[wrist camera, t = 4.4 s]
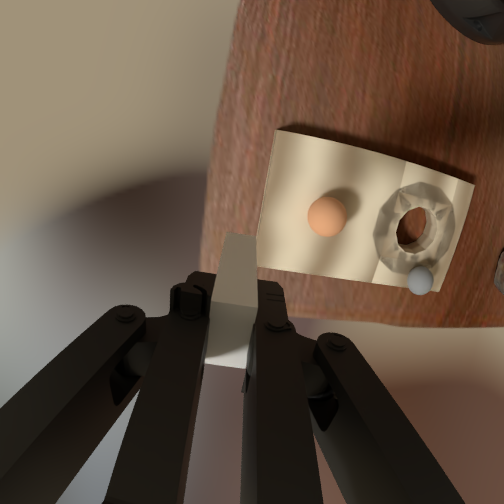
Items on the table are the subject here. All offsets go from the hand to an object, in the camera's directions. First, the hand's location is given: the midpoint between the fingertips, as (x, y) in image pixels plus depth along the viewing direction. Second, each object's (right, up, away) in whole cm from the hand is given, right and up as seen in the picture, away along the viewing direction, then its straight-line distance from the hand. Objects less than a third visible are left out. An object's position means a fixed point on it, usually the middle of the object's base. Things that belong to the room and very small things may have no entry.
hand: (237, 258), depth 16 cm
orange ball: (+7, +3, +11) cm, 13 cm away
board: (+13, +4, +15) cm, 20 cm away
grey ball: (+18, -3, +13) cm, 23 cm away
